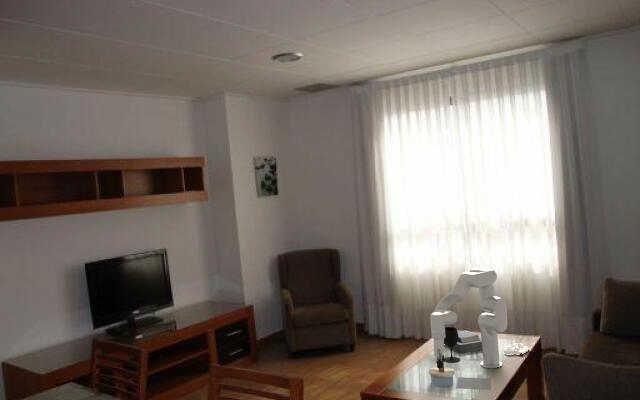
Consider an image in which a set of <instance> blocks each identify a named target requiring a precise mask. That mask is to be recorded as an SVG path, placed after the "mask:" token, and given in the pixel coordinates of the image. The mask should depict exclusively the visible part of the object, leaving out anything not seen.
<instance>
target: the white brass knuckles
mask: <svg viewBox="0 0 640 400" xmlns="http://www.w3.org/2000/svg"><path fill="white" fill-rule="evenodd" d="M518 345H521V346H518ZM519 347H523V349H522V348H519ZM530 349H531V350H532V348H531V347H529V346H526V345H524V344H523V343H521V342H520V343H519V342H516V343H512V344H508V345H506V346H505V347H504V348H503V354H504V353H506V354H510V353H516V352H520V353H522V354H523V353H524V352H526V351H528V350H530ZM517 350H519V351H517ZM522 354H521V355H522Z"/></svg>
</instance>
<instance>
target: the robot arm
mask: <svg viewBox="0 0 640 400" xmlns="http://www.w3.org/2000/svg"><path fill="white" fill-rule="evenodd" d="M497 278H498V274H497V272H496V271H495V270H494V269H490V268H484V267H483V268H482V267H473V268H471V269H470V270H469V271H464V272H462V273H461V274H460V275H459V277H458V279H457V281H456V282H455V284H454V286H453V288H452V290H451V291H450V292H449V293H447V295H445V296H444V297H442V298H441V299H440V300H439V301H438V303H437V304H436V306H435V307H434V311H433V312H431V313H430V315H429V316H430V330H431V339H433V356H434V357H436V367H437V368H443V362H444V363H446V362H445V359H444V358H445V345H444V338H445V325H454V324H455V323H456V322H457V321H458V314H457V313H456V312H455V311H453V310H449V309H448V308H449V307H450V306H452V305H453V304H457V303H460V302H464V301H465V300H466V298H467V296H468V293H469V292H470V290H471V288H476V289H478V291H479V293H478V294H479V306H480V309H481V310H482V311H485V312H482V313H481V314H479V316H478V319H477V322H478V326H479V330H480V338H481V341H482V350H481V351H482V352H481V353H482V361H480V365H481V367H483V368H486V369H498V368H497V367H499V368H501V367H503V362H502V361H500V351H499V336H498V334H497V332H499V333H503V332H505V331H506V330H507V327H508V307H507V303H506V300H505V299H504V298H503V297H499V296H496V295H495V289H494V283H496V281H497ZM442 361H443V362H442ZM500 366H501V367H500Z"/></svg>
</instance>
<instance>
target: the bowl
mask: <svg viewBox="0 0 640 400" xmlns="http://www.w3.org/2000/svg"><path fill="white" fill-rule="evenodd" d="M430 382H431V384H430V385H431V386H434V387H438V388H447V387H451V386H452V385H454V375H453V376H451V377H446V378H437V377H433V376H431V375H430Z"/></svg>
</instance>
